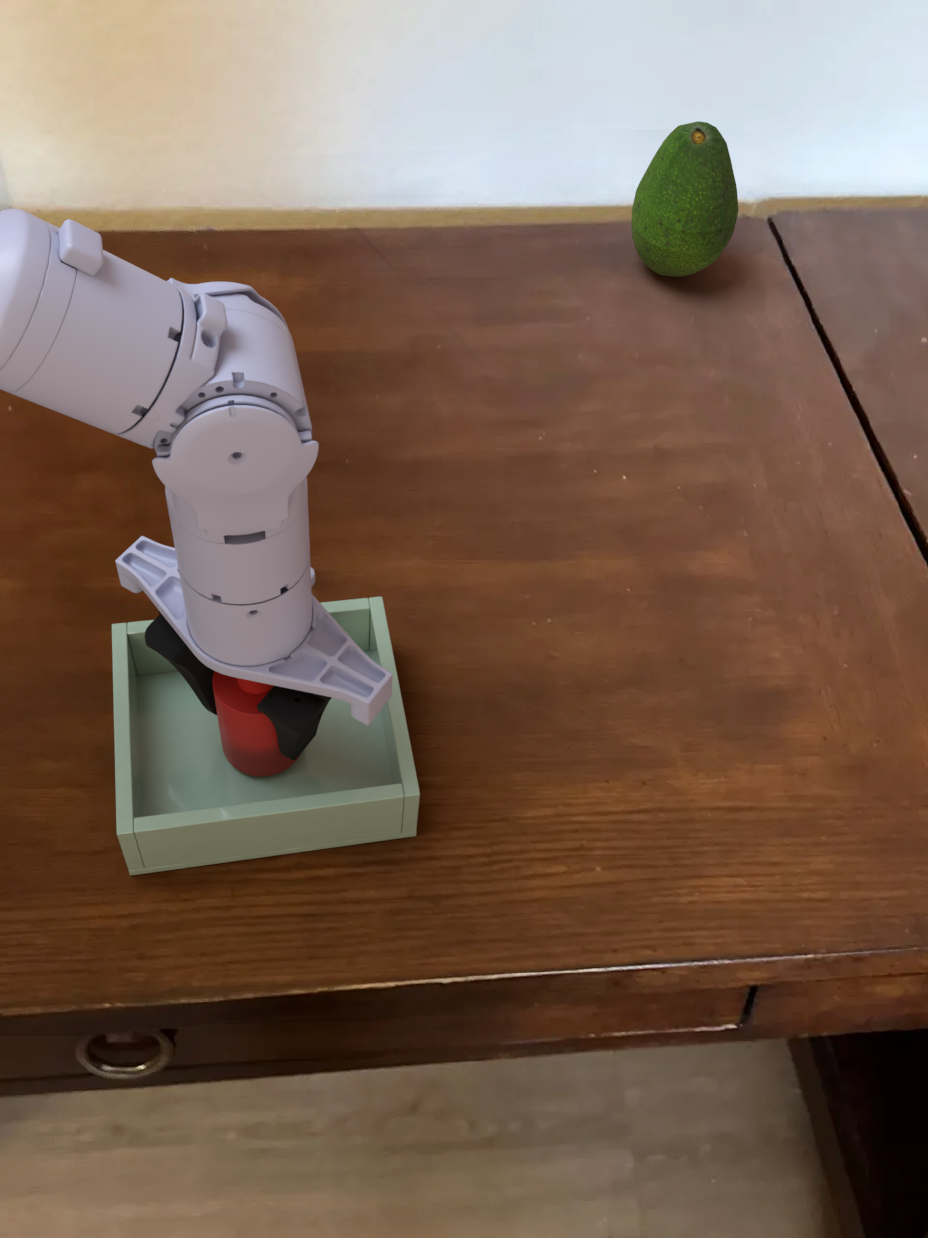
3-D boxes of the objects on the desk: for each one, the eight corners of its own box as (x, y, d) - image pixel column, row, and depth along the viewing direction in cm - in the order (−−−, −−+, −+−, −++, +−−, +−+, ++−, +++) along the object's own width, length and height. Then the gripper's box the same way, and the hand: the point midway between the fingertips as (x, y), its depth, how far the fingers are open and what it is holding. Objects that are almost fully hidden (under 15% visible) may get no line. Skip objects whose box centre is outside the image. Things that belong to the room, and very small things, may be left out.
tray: (129, 876, 61) (116, 834, 57) (123, 671, 68) (111, 623, 65) (416, 836, 63) (420, 794, 60) (380, 643, 71) (382, 595, 67)
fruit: (599, 255, 95) (627, 112, 85) (677, 227, 98) (712, 86, 88) (662, 312, 91) (699, 169, 82) (741, 282, 94) (785, 140, 85)
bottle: (225, 782, 63) (211, 695, 57) (219, 711, 66) (205, 621, 60) (309, 771, 64) (304, 684, 58) (300, 702, 67) (295, 611, 60)
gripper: (433, 568, 53) (419, 733, 64) (171, 432, 57) (199, 609, 68) (341, 679, 49) (343, 834, 60) (66, 525, 53) (114, 697, 64)
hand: (261, 721), depth 63 cm, fingers closed on bottle, 4 cm apart
